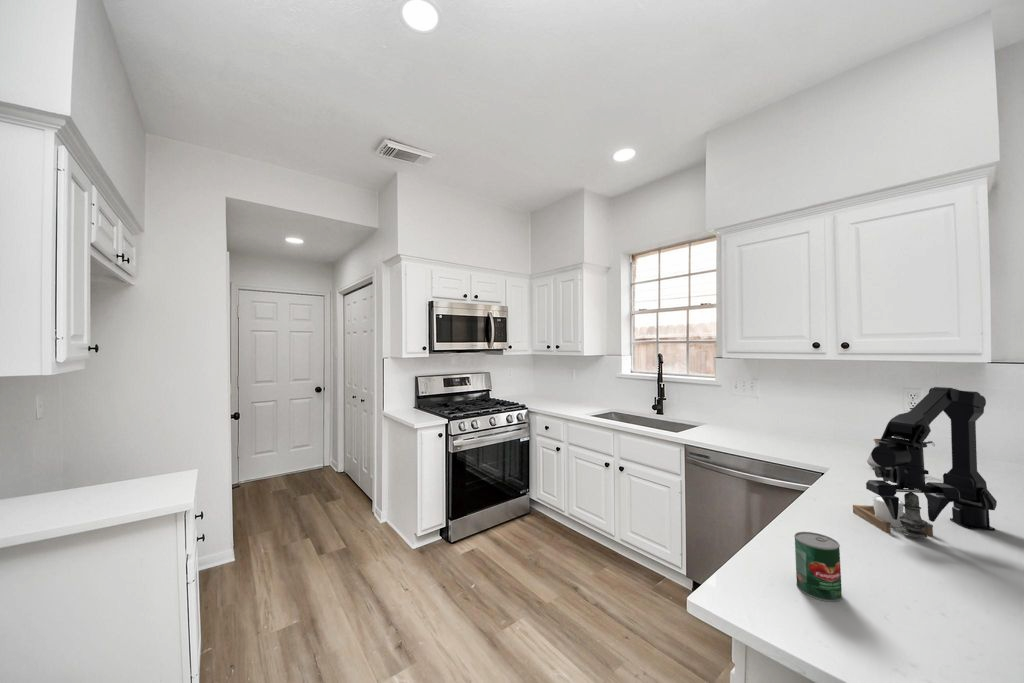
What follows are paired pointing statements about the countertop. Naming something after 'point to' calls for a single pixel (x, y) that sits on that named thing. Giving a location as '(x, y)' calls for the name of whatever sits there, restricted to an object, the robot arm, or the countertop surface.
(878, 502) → the white tapered cup
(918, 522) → the salt shaker
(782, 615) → the countertop surface
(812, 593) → the canned tomato
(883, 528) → the wooden stand
